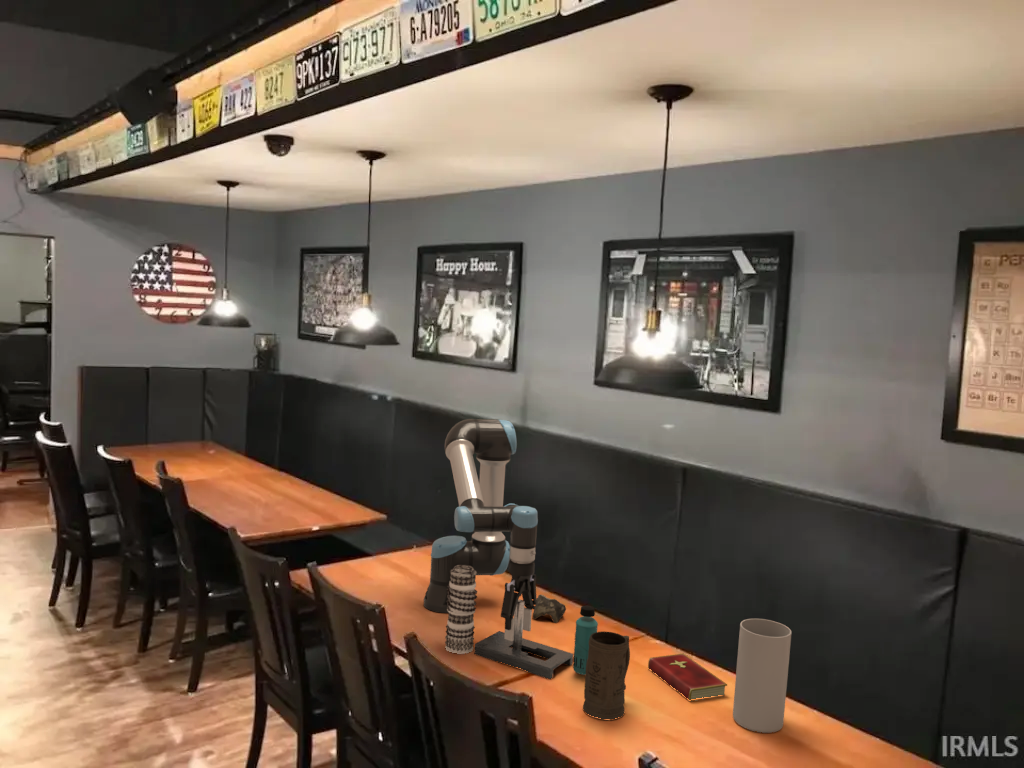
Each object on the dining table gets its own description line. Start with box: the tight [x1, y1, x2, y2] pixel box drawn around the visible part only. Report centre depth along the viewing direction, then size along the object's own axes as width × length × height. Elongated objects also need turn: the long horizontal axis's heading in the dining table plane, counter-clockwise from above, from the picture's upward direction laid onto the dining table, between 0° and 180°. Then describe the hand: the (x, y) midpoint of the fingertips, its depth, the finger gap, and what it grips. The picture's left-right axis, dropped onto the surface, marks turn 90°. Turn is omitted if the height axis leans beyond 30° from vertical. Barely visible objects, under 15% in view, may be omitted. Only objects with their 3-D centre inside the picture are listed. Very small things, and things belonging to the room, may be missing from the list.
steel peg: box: [511, 599, 525, 652], centre depth 241 cm, size 5×5×17 cm
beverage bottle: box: [572, 604, 599, 676], centre depth 231 cm, size 6×7×20 cm
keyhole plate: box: [473, 630, 574, 680], centre depth 241 cm, size 26×13×3 cm, turn 57°
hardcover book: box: [647, 653, 728, 700], centre depth 231 cm, size 12×21×4 cm, turn 22°
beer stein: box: [582, 631, 631, 719], centre depth 213 cm, size 15×11×20 cm
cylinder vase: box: [732, 618, 792, 734], centre depth 210 cm, size 12×12×25 cm
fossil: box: [532, 594, 567, 624], centre depth 275 cm, size 11×9×10 cm
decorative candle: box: [444, 565, 479, 655], centre depth 245 cm, size 9×9×25 cm
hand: (517, 634), depth 241 cm, fingers open, 9 cm apart
